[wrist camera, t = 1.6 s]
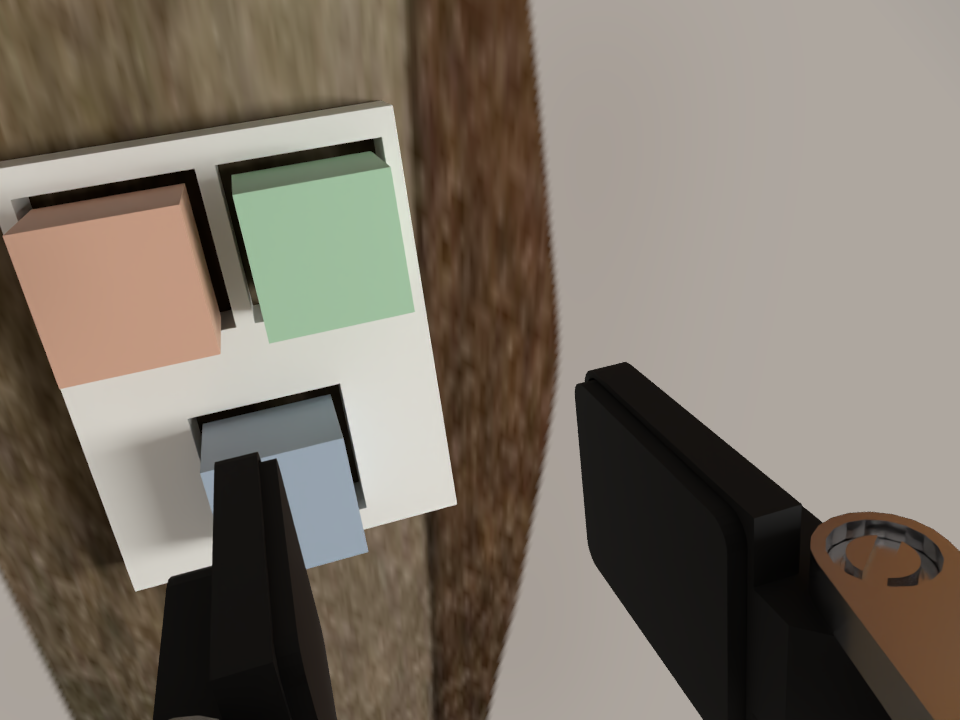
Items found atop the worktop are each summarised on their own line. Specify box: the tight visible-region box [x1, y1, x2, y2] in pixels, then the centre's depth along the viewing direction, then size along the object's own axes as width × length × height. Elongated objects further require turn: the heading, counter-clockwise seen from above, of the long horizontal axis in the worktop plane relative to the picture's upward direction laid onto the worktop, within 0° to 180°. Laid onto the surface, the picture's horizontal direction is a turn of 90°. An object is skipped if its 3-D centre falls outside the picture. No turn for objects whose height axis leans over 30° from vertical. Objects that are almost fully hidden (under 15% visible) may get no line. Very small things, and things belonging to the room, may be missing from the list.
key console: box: [0, 100, 457, 591], centre depth 28 cm, size 15×12×2 cm
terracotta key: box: [3, 183, 221, 389], centre depth 24 cm, size 4×4×4 cm
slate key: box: [200, 394, 368, 569], centre depth 28 cm, size 4×4×4 cm
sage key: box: [231, 151, 415, 344], centre depth 25 cm, size 4×4×4 cm
